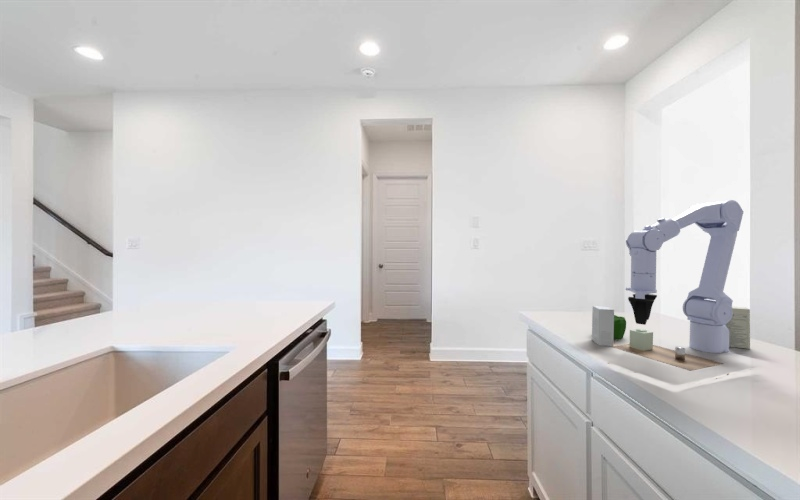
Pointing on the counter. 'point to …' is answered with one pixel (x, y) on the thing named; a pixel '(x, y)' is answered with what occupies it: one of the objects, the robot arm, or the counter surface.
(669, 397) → the counter surface
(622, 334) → the bell pepper
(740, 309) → the skincare box
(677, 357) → the post
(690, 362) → the board
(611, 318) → the skincare box
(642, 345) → the sage cube with dome
